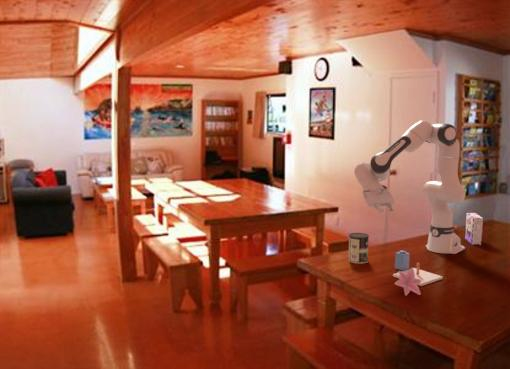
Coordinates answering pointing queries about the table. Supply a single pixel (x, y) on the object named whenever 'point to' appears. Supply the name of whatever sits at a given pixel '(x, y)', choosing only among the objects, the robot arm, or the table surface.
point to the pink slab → (421, 276)
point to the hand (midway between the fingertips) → (387, 212)
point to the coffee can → (358, 248)
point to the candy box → (474, 228)
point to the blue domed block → (402, 260)
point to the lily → (408, 282)
